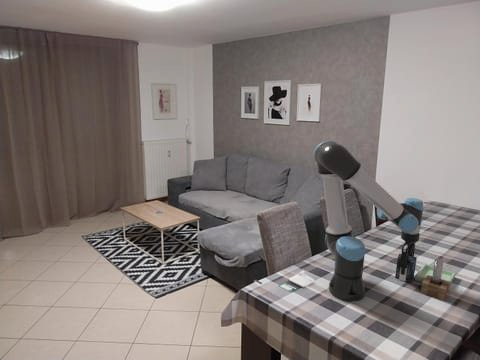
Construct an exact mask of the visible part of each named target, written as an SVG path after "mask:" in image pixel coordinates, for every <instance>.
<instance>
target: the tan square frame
mask: <svg viewBox="0 0 480 360" xmlns="http://www.w3.org/2000/svg"><path fill="white" fill-rule="evenodd" d="M432 278H433V276H429V275H427V277H426V278H425V279H424V281H423V282H421V288H420V289H421V290H420V293H421V294H423V295H427V296H430V297H433V298H434V299H435V298H436V299H439V300H442V301H445V299H446V298H447V296H448V294H449V291H450V287H451V285H450V282H449V281H446V280H443V279H441V282H440V285H437V284H434V283H432ZM449 286H450V287H449Z"/></svg>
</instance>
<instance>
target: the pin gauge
mask: <svg viewBox="0 0 480 360" xmlns="http://www.w3.org/2000/svg"><path fill="white" fill-rule="evenodd" d="M444 263H445V262H444V260H442V259H439V258H436V259H435V260H434V271H433V278H432V283H434V284H437V285H440V282H441V276H442V269H444Z"/></svg>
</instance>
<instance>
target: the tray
mask: <svg viewBox="0 0 480 360" xmlns="http://www.w3.org/2000/svg"><path fill="white" fill-rule="evenodd" d="M433 271H434V266H433V265H430V264H426V263H424V264H423V265H422V266H421V268H419V270H417V272H416V273H415V274H414V281H418V282H421V283H422V282H423V281H424V279H425V278H426V277H427V275H429V276H433ZM455 278H456V272H455V271H450V270H449V269H448V270H447V269H444V268H443V269H442V276H441V279H443V280H446V281H449V282H450V286H449V288H450V287H451V285H452V283H453V282H454V279H455Z"/></svg>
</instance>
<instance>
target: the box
mask: <svg viewBox="0 0 480 360" xmlns="http://www.w3.org/2000/svg"><path fill="white" fill-rule="evenodd" d="M400 259H401V253H398V256H397V261H396V269H395V274H394V275H395V276H394V278H395V279H399V276H400V267H399V265H400ZM416 266H417V257H416V256H414V257H413V256H409V259H408V263H407V274H406V281H408V282H411V283H413V282H414V281H415V274H416V273H415V272H416Z"/></svg>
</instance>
